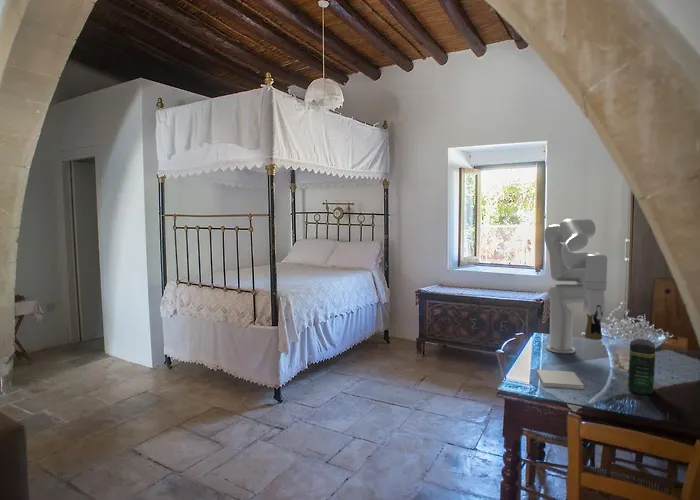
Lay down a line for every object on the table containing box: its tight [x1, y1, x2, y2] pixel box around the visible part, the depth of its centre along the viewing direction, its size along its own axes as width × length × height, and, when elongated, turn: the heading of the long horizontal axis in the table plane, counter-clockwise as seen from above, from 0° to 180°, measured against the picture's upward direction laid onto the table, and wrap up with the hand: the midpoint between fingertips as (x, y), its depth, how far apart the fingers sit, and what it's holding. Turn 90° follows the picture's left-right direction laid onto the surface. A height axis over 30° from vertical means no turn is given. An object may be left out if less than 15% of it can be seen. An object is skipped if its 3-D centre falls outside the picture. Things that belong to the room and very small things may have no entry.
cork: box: [584, 313, 603, 341], centre depth 172 cm, size 6×6×11 cm
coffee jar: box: [627, 338, 656, 395], centre depth 162 cm, size 10×8×19 cm
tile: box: [536, 369, 585, 390], centre depth 172 cm, size 14×14×2 cm
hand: (593, 331), depth 172 cm, fingers closed on cork, 3 cm apart
